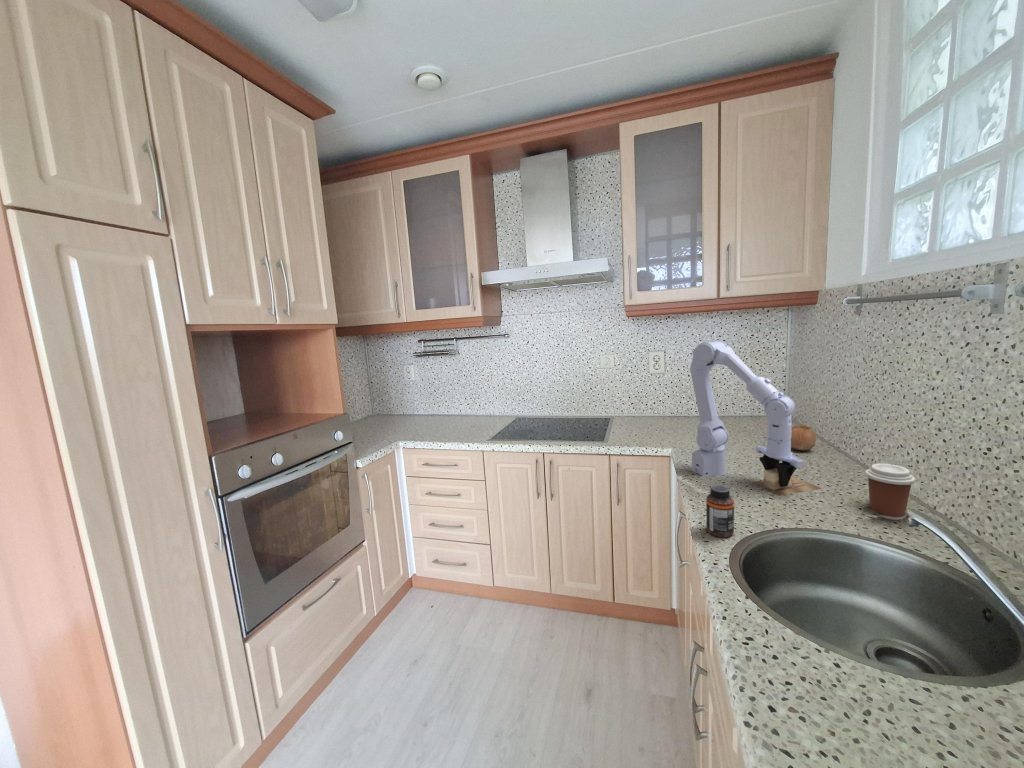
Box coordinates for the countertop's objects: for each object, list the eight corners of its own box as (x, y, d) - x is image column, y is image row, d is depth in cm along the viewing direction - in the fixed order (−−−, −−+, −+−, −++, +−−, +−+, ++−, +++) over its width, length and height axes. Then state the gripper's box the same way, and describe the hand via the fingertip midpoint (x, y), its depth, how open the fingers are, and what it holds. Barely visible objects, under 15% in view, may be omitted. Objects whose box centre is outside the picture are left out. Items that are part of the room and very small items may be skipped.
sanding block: (773, 491, 113) (774, 474, 112) (763, 486, 117) (764, 470, 116) (791, 488, 114) (792, 471, 113) (781, 483, 118) (781, 467, 117)
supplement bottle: (709, 523, 100) (709, 481, 98) (736, 530, 96) (736, 486, 95) (703, 534, 95) (703, 489, 94) (731, 541, 92) (731, 495, 90)
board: (779, 499, 111) (780, 494, 110) (752, 485, 120) (752, 481, 120) (822, 492, 113) (822, 488, 113) (791, 479, 123) (792, 475, 122)
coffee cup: (863, 502, 106) (866, 459, 104) (912, 511, 99) (915, 466, 98) (861, 515, 99) (864, 469, 97) (913, 526, 93) (916, 477, 91)
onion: (813, 448, 149) (814, 422, 148) (817, 455, 141) (818, 428, 140) (783, 445, 154) (784, 420, 153) (785, 453, 146) (786, 426, 145)
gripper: (814, 443, 107) (812, 491, 109) (770, 430, 121) (769, 473, 123) (791, 446, 106) (790, 494, 108) (750, 433, 120) (749, 475, 122)
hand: (777, 483), depth 115 cm, fingers closed on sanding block, 4 cm apart
